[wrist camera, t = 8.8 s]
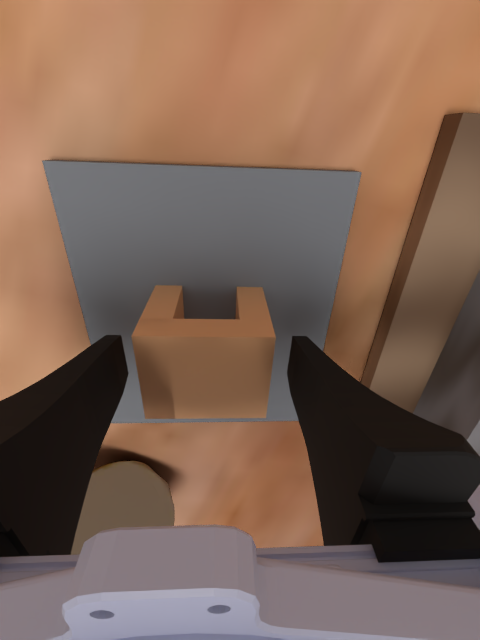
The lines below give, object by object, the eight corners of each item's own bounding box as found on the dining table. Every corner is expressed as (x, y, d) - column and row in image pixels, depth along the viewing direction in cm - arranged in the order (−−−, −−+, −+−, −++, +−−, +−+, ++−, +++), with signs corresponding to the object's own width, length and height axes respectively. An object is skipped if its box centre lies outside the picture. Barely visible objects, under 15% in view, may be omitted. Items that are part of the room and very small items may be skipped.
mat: (305, 413, 19) (307, 420, 19) (114, 415, 19) (111, 423, 18) (355, 171, 12) (361, 172, 12) (50, 160, 12) (42, 160, 11)
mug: (52, 513, 24) (-50, 647, 15) (126, 414, 25) (76, 478, 15) (129, 560, 25) (82, 717, 15) (198, 463, 26) (196, 553, 16)
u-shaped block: (256, 355, 16) (265, 417, 12) (163, 355, 16) (145, 418, 12) (262, 287, 14) (275, 337, 10) (155, 285, 14) (131, 336, 10)
